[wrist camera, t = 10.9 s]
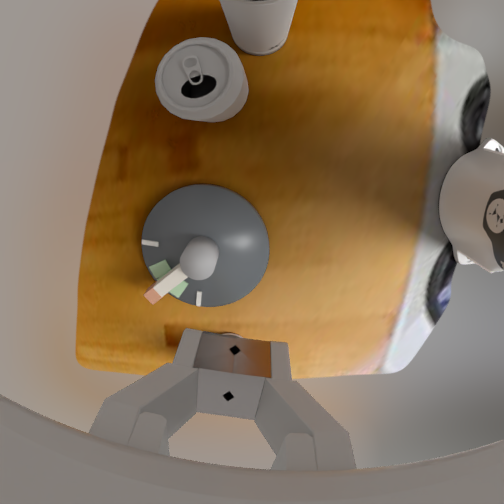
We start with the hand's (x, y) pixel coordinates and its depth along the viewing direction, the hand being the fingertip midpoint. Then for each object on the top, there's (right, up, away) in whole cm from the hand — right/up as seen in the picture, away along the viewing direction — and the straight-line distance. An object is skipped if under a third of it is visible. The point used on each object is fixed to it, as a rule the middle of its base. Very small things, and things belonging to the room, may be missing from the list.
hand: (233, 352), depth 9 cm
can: (-4, +21, +23) cm, 32 cm away
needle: (-8, +1, +30) cm, 31 cm away
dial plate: (-5, +4, +30) cm, 31 cm away
